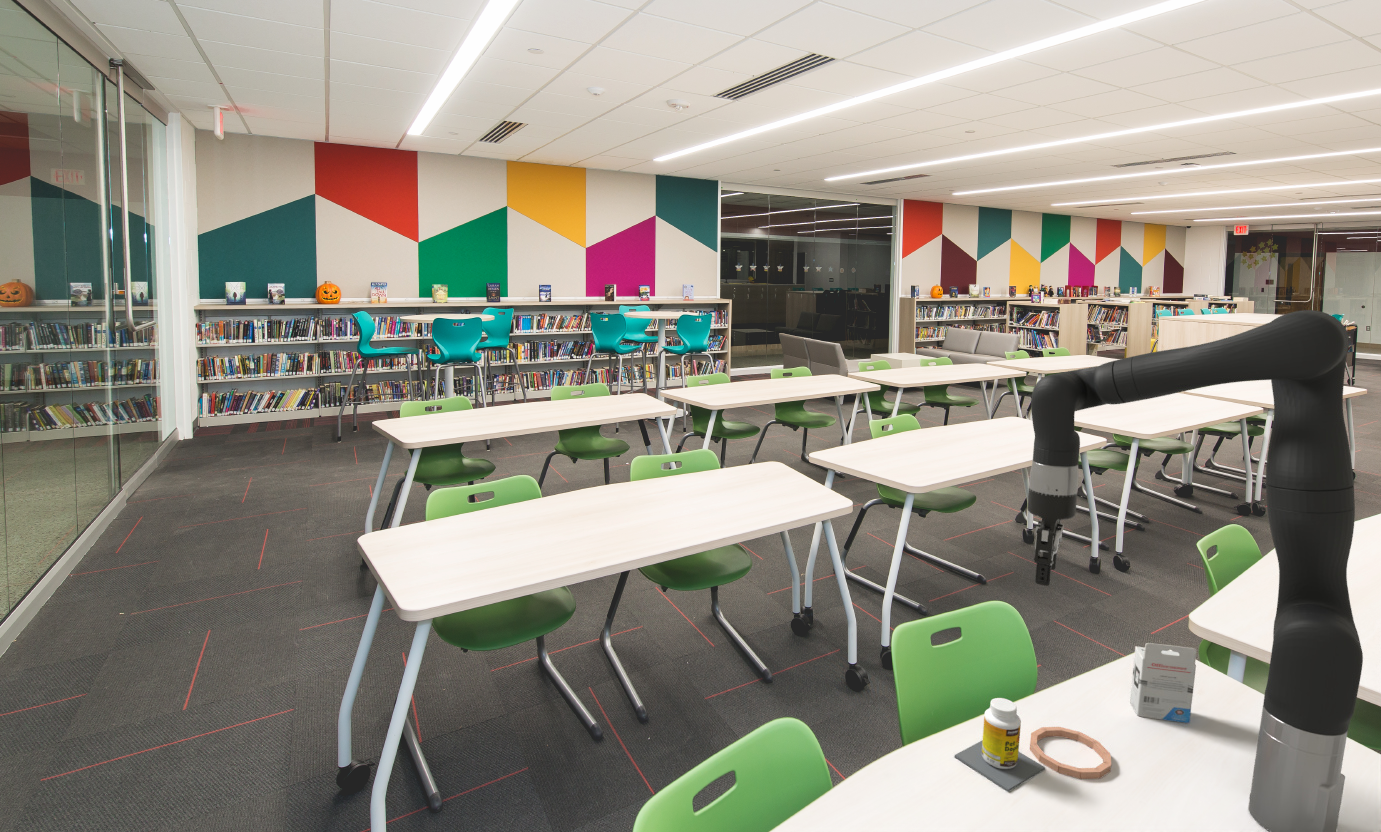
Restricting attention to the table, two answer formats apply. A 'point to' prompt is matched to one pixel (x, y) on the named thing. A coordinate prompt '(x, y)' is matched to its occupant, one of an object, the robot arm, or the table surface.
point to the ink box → (1163, 682)
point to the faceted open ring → (1066, 769)
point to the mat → (999, 776)
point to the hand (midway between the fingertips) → (1045, 576)
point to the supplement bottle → (1001, 734)
